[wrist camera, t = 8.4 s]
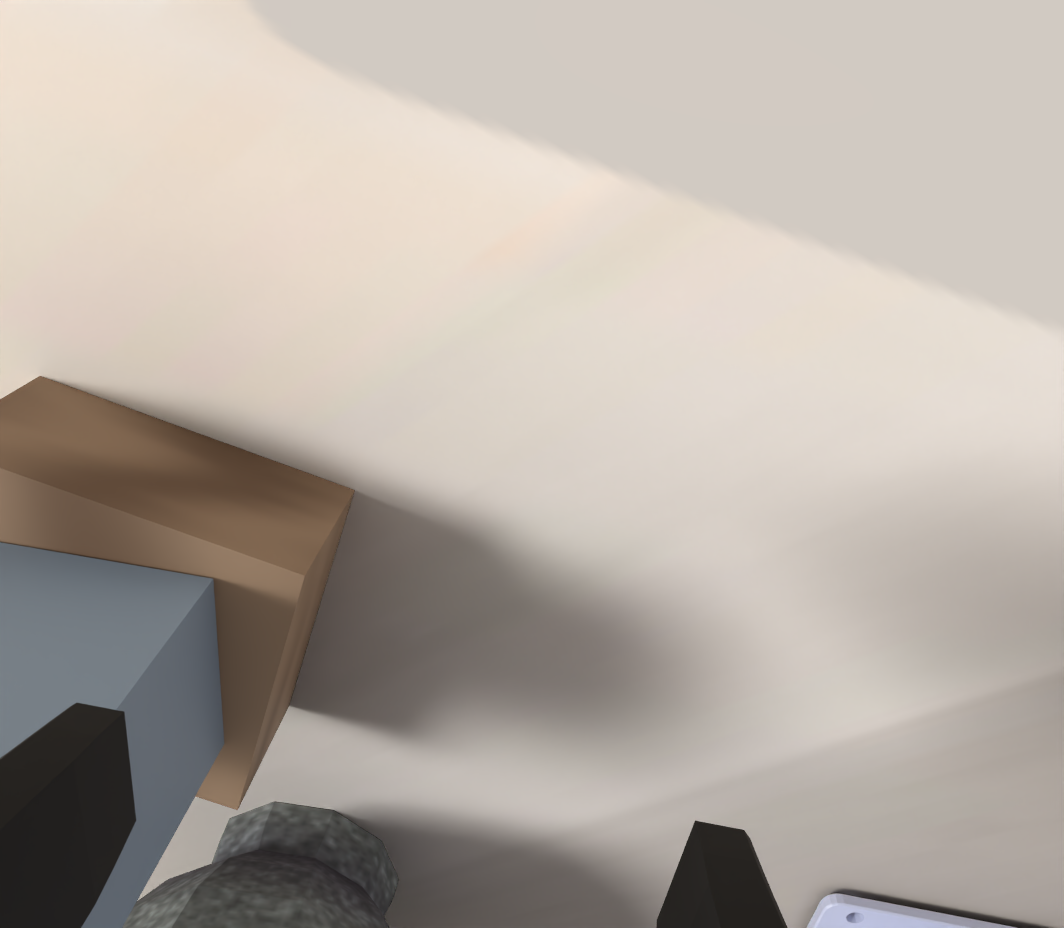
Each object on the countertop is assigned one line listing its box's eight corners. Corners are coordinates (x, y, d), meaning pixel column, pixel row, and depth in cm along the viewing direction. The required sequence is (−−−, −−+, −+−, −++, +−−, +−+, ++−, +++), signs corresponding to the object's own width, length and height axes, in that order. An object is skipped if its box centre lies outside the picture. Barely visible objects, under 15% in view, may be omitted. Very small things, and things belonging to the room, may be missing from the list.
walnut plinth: (358, 483, 21) (304, 575, 17) (292, 698, 25) (237, 809, 21) (49, 370, 20) (-72, 442, 17) (29, 608, 24) (-73, 708, 20)
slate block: (213, 578, 18) (36, 817, 12) (224, 743, 20) (81, 1001, 15) (-14, 539, 18) (-286, 759, 12) (24, 708, 20) (-190, 952, 15)
